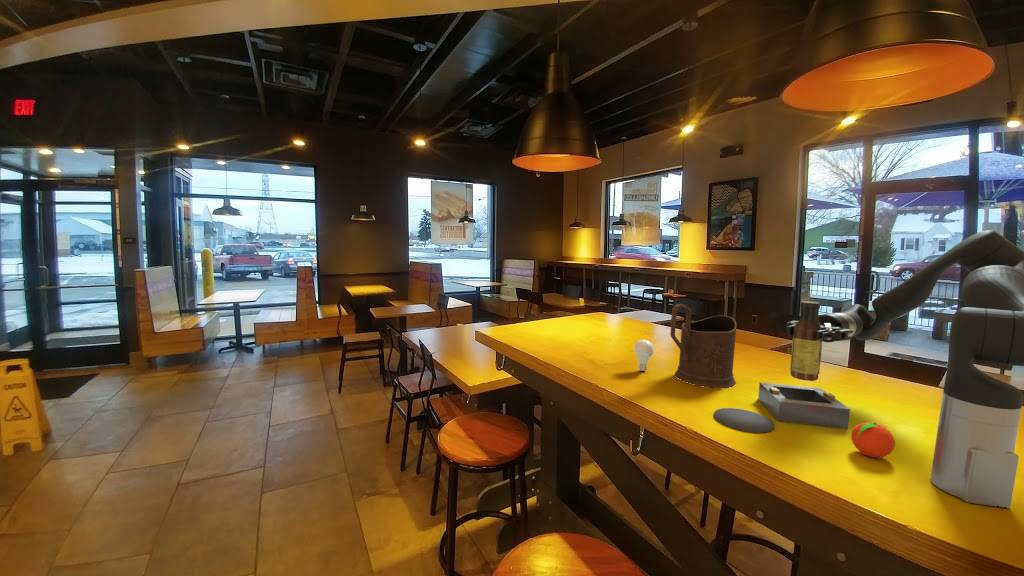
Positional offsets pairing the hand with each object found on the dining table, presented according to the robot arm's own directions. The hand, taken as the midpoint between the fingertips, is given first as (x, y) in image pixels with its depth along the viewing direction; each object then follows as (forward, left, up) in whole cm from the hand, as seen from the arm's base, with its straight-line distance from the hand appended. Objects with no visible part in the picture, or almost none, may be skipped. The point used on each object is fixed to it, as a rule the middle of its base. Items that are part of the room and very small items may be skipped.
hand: (803, 333), depth 105 cm
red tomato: (-19, -7, -22) cm, 30 cm away
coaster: (-8, +14, -22) cm, 27 cm away
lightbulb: (+26, +36, -22) cm, 50 cm away
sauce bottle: (+2, -2, -12) cm, 13 cm away
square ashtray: (+2, -2, -22) cm, 22 cm away
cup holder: (+23, +19, -22) cm, 37 cm away
